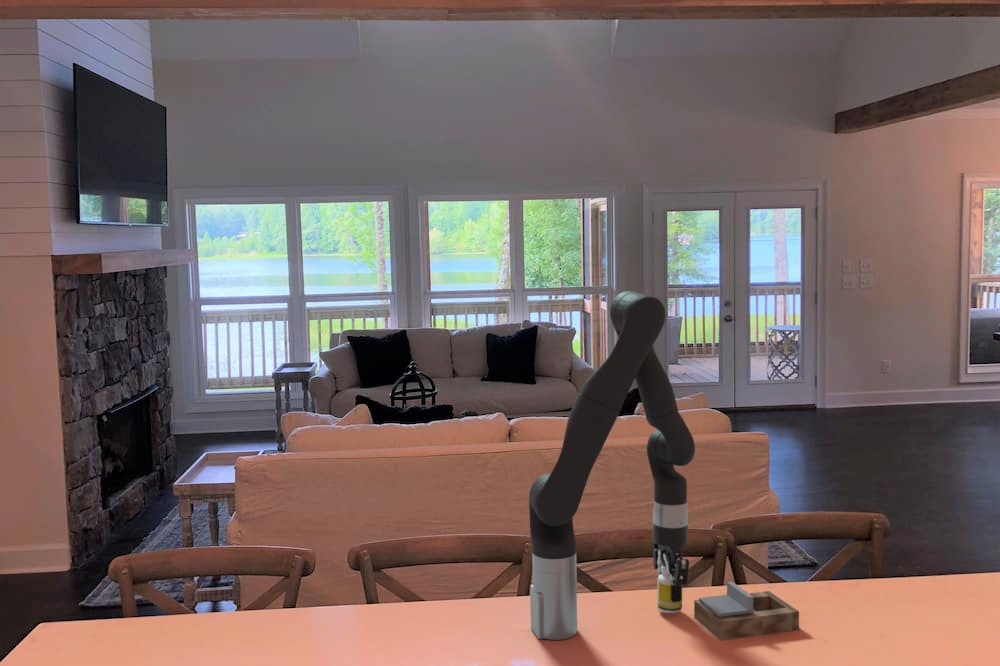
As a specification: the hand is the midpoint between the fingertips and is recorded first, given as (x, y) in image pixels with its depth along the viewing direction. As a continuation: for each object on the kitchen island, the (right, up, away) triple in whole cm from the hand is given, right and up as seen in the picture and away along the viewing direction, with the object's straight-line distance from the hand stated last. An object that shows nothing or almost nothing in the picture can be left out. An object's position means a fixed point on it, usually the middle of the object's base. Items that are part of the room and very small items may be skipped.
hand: (669, 595), depth 201 cm
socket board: (+15, -4, -7) cm, 17 cm away
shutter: (+10, 0, -8) cm, 13 cm away
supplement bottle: (0, -3, 0) cm, 3 cm away
